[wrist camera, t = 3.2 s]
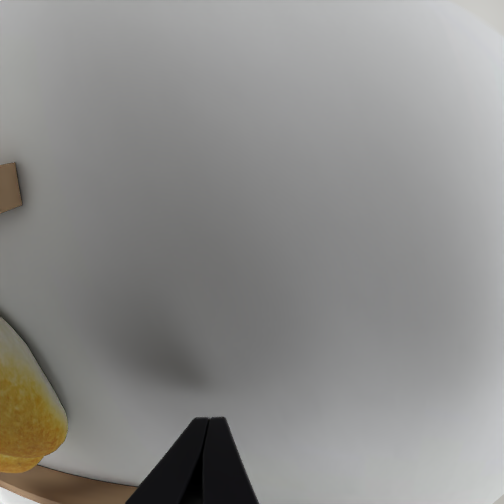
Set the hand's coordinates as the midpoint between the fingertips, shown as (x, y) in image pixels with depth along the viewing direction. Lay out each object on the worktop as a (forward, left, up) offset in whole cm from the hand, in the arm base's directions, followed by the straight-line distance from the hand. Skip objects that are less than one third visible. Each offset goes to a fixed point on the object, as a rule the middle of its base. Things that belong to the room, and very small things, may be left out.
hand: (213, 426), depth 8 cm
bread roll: (+10, 0, -2) cm, 10 cm away
